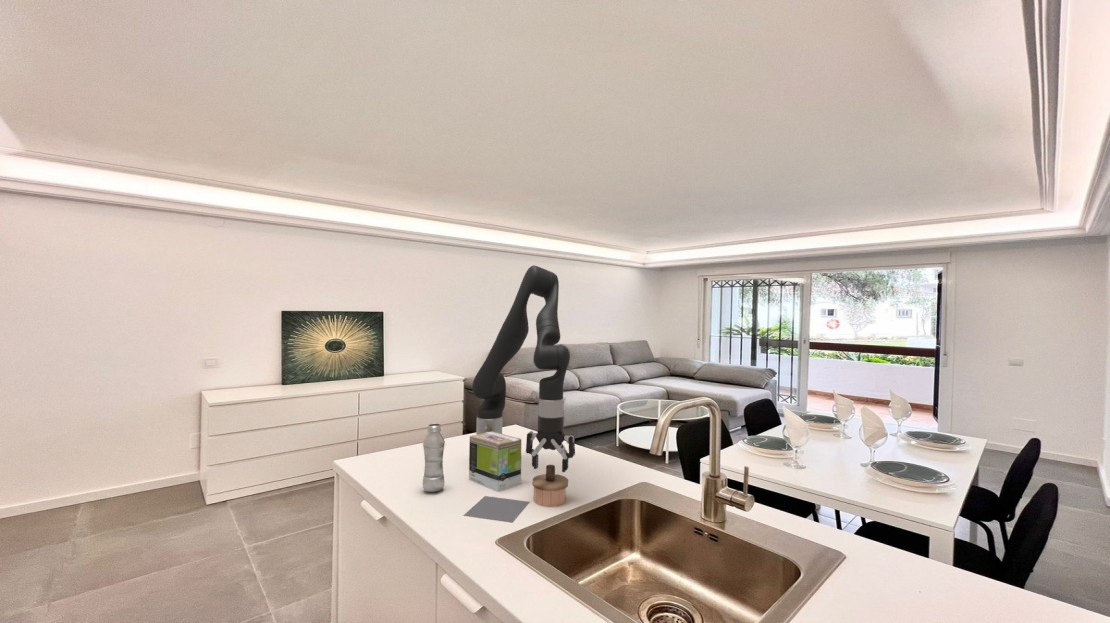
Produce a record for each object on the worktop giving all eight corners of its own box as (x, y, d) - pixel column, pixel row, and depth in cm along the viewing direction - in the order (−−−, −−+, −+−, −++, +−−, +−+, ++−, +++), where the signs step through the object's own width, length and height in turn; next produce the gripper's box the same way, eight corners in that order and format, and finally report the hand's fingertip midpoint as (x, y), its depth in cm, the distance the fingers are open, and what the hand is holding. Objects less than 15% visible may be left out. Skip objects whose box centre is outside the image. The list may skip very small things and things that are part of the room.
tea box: (522, 484, 148) (522, 438, 148) (497, 493, 141) (498, 444, 141) (491, 473, 159) (492, 429, 159) (467, 480, 151) (468, 435, 151)
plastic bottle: (449, 488, 144) (450, 423, 144) (434, 496, 138) (435, 428, 138) (432, 485, 147) (433, 421, 147) (417, 492, 140) (418, 426, 141)
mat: (463, 516, 124) (463, 515, 124) (484, 497, 138) (484, 495, 138) (512, 524, 120) (512, 522, 120) (529, 503, 134) (529, 501, 134)
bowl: (530, 506, 132) (531, 488, 132) (537, 494, 141) (538, 477, 141) (562, 509, 130) (562, 491, 130) (567, 497, 139) (567, 480, 139)
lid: (527, 488, 132) (527, 470, 132) (538, 476, 142) (538, 459, 142) (563, 492, 129) (563, 473, 129) (571, 480, 139) (572, 462, 139)
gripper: (523, 414, 134) (522, 471, 134) (571, 418, 130) (570, 476, 130) (531, 409, 141) (530, 463, 141) (577, 413, 137) (576, 468, 137)
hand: (550, 469), depth 135 cm, fingers open, 8 cm apart
